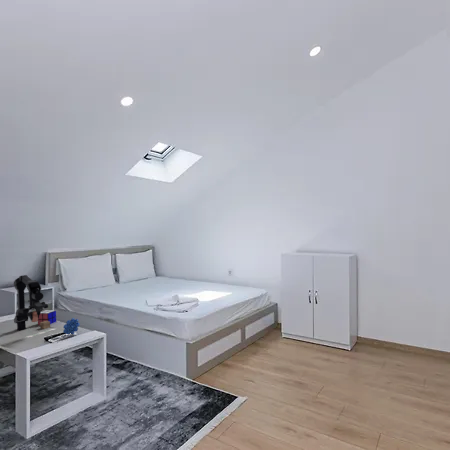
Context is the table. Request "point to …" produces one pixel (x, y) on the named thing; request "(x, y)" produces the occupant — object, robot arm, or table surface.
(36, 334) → the board
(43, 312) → the puzzle cube
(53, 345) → the table surface
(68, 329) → the grapes
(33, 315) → the pawn
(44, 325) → the tan cardboard cube
